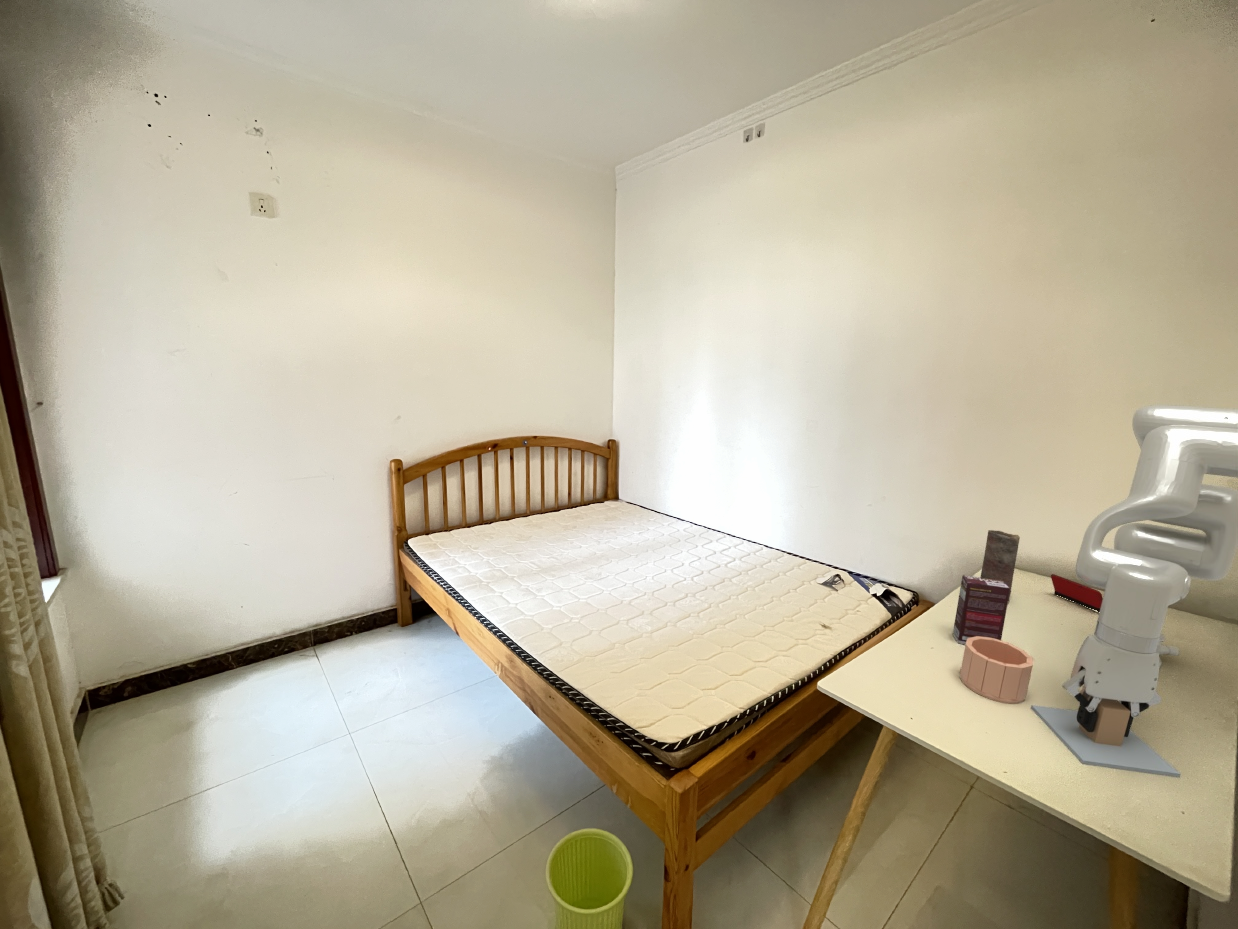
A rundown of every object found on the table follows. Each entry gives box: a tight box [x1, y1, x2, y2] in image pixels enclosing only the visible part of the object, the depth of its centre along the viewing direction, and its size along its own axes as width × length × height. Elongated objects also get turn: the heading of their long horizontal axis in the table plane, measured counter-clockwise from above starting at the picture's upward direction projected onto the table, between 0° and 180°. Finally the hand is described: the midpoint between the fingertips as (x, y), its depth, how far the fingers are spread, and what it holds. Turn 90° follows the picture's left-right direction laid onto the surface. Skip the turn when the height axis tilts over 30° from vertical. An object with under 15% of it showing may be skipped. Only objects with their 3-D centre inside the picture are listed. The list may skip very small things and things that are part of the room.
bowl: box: [959, 636, 1034, 705], centre depth 103 cm, size 11×11×8 cm
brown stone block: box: [980, 529, 1021, 602], centre depth 142 cm, size 8×7×20 cm
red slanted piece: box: [1050, 573, 1103, 612], centre depth 141 cm, size 12×11×7 cm
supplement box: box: [952, 574, 1011, 646], centre depth 119 cm, size 9×5×16 cm, turn 71°
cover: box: [1030, 696, 1181, 779], centre depth 89 cm, size 14×14×8 cm
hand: (1101, 728), depth 89 cm, fingers open, 4 cm apart
